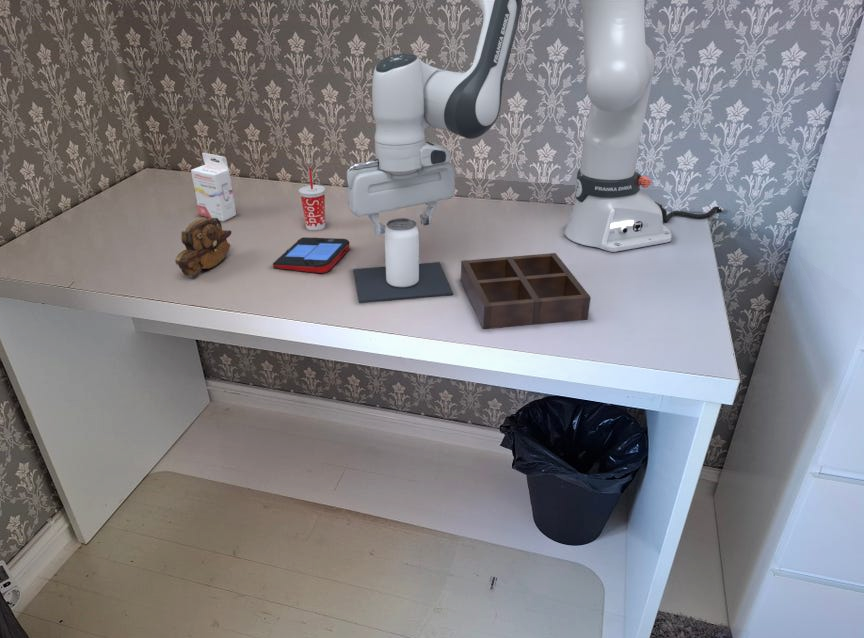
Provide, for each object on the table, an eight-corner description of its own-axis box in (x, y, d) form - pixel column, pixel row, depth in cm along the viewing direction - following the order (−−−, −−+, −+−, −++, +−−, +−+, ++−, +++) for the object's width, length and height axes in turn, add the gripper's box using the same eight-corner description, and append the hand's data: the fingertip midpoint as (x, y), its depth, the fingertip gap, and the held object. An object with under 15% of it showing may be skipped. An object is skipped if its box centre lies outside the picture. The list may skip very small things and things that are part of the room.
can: (415, 289, 130) (415, 231, 124) (383, 287, 132) (380, 229, 125) (421, 275, 136) (421, 218, 129) (390, 273, 137) (388, 216, 130)
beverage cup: (298, 229, 159) (291, 170, 152) (309, 220, 164) (303, 162, 156) (321, 232, 157) (316, 173, 150) (332, 223, 162) (327, 164, 154)
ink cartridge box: (198, 216, 169) (186, 157, 161) (212, 209, 172) (202, 151, 164) (223, 222, 165) (213, 161, 157) (237, 215, 168) (227, 156, 160)
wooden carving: (197, 284, 137) (187, 238, 131) (178, 282, 138) (167, 236, 133) (239, 252, 149) (231, 208, 144) (221, 250, 151) (213, 207, 145)
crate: (553, 273, 135) (555, 252, 133) (587, 319, 120) (590, 297, 117) (460, 281, 134) (461, 260, 131) (483, 329, 118) (484, 306, 116)
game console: (301, 241, 153) (300, 232, 152) (353, 248, 149) (353, 238, 148) (271, 268, 142) (269, 258, 141) (326, 276, 138) (325, 266, 137)
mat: (439, 264, 141) (439, 261, 141) (453, 295, 129) (453, 292, 129) (353, 271, 139) (353, 269, 139) (359, 303, 128) (358, 300, 127)
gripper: (351, 169, 114) (357, 245, 122) (459, 150, 120) (458, 224, 128) (339, 160, 119) (345, 234, 127) (443, 142, 125) (443, 213, 133)
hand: (403, 229), depth 127 cm, fingers open, 8 cm apart
